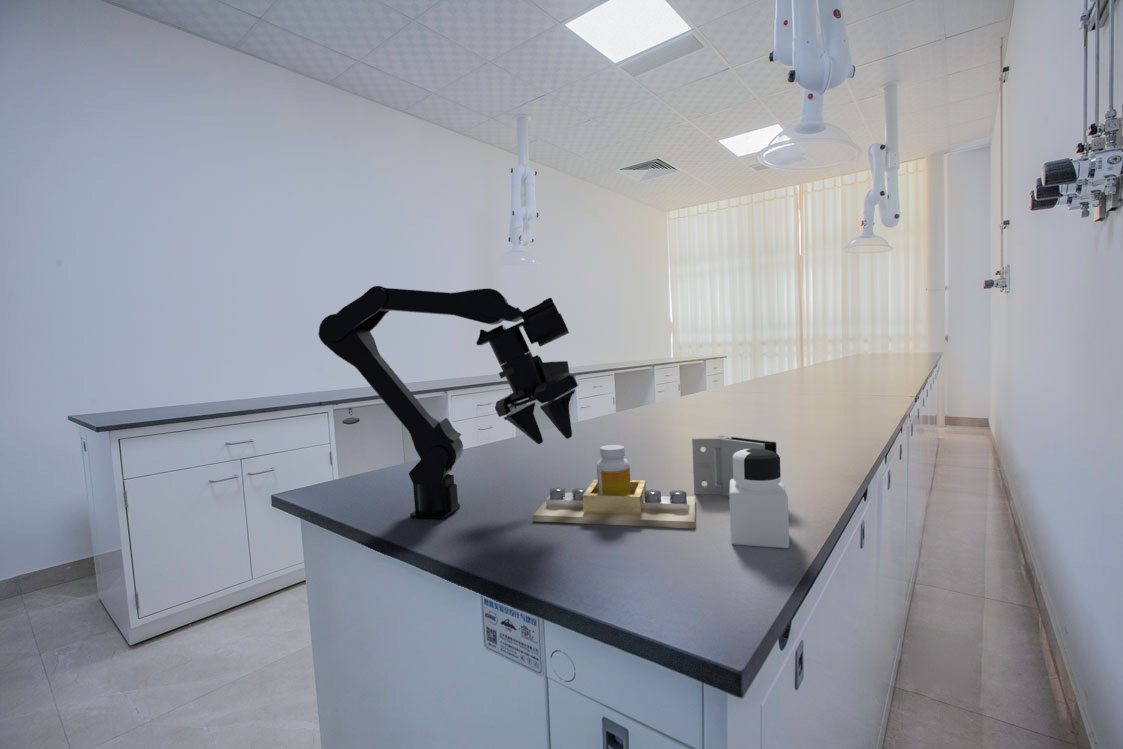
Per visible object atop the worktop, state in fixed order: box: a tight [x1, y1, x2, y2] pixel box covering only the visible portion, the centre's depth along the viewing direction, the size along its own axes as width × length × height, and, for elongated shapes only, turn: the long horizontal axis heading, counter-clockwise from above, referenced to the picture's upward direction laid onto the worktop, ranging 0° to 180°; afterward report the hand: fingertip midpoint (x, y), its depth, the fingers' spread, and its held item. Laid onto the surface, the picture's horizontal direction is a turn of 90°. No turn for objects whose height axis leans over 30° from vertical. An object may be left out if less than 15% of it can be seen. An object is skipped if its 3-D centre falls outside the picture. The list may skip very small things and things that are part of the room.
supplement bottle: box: [596, 444, 631, 495], centre depth 82 cm, size 5×5×10 cm
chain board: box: [532, 492, 696, 529], centre depth 82 cm, size 25×12×1 cm, turn 75°
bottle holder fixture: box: [545, 478, 689, 516], centre depth 82 cm, size 23×9×3 cm, turn 75°
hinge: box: [691, 435, 778, 497], centre depth 87 cm, size 14×5×10 cm, turn 52°
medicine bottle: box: [728, 449, 790, 549], centre depth 68 cm, size 7×7×12 cm
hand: (554, 440), depth 86 cm, fingers open, 9 cm apart
